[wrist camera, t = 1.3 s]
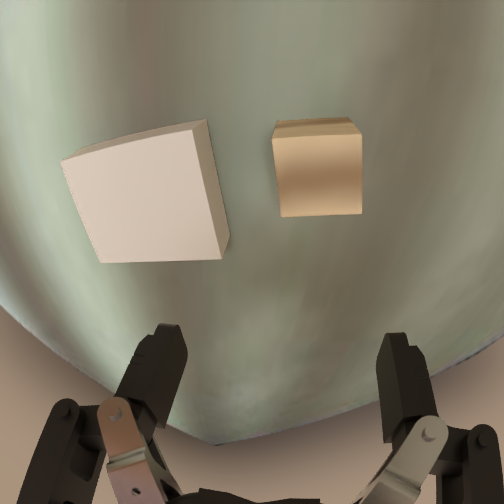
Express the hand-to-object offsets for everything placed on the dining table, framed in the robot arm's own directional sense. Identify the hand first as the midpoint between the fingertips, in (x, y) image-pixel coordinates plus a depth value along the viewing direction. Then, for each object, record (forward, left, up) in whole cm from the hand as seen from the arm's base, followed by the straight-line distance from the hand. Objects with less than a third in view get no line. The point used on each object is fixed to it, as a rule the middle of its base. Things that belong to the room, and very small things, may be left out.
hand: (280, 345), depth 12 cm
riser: (+1, -14, -19) cm, 23 cm away
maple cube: (-1, +2, -19) cm, 19 cm away
